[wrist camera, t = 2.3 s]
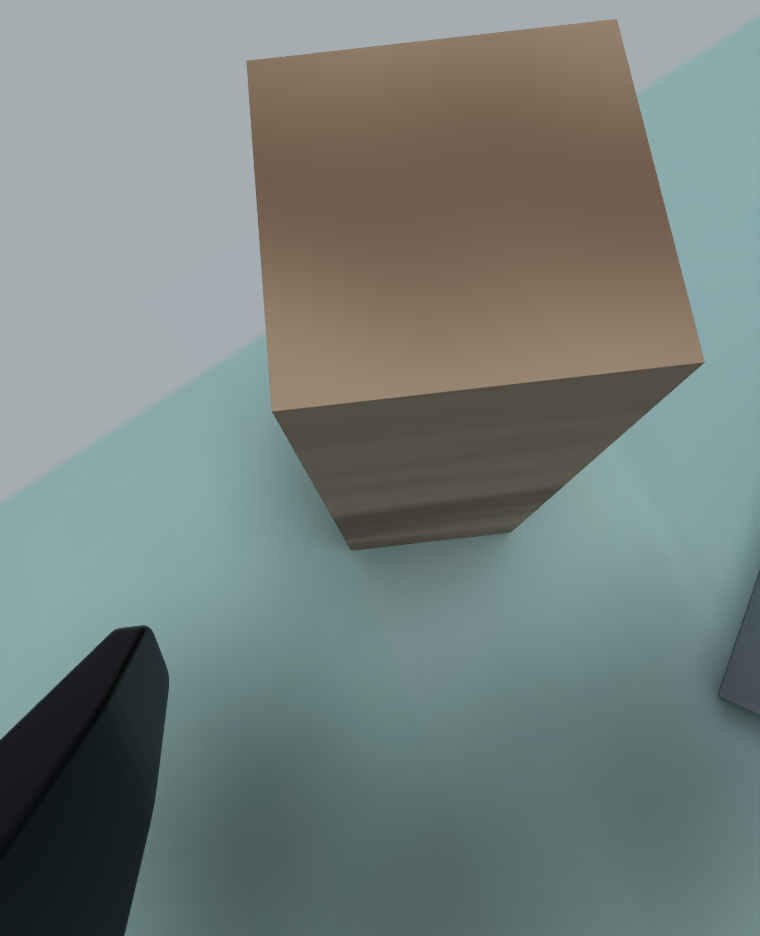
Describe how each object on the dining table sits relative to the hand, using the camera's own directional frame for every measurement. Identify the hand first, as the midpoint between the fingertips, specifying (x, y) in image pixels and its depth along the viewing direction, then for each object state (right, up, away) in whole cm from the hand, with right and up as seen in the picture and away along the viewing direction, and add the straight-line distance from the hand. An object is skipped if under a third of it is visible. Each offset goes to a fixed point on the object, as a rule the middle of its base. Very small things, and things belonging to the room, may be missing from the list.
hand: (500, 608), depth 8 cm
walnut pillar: (0, +2, +12) cm, 13 cm away
